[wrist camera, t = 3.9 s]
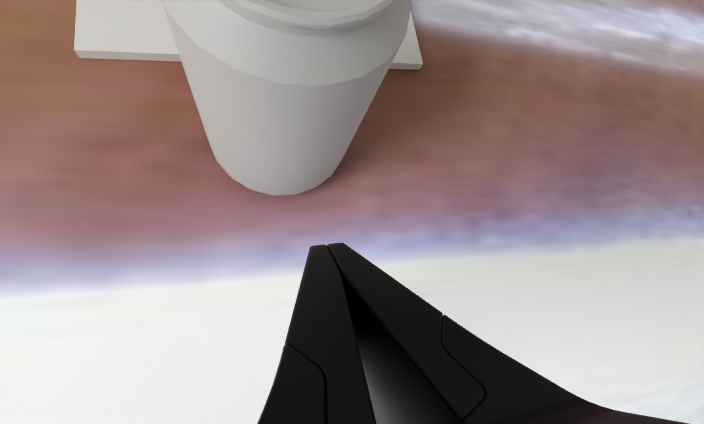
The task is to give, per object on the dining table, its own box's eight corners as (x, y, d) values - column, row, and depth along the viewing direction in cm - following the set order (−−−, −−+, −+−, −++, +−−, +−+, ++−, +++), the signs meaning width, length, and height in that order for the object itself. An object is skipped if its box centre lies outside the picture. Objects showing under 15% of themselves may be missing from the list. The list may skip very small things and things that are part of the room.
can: (199, 192, 18) (85, -9, 6) (220, 72, 20) (162, -236, 9) (339, 207, 19) (441, 68, 8) (345, 95, 21) (432, -139, 10)
